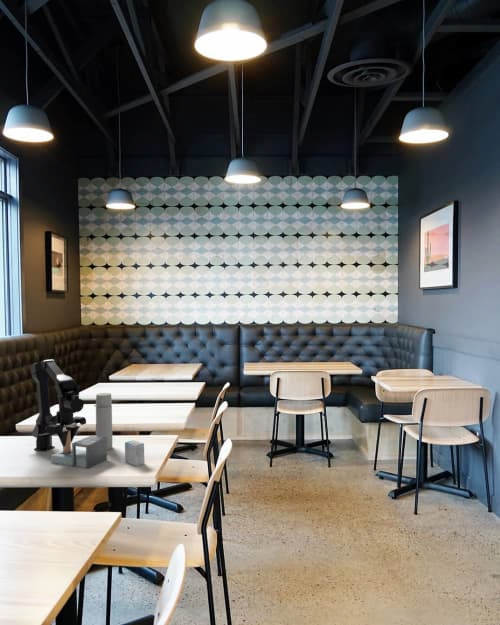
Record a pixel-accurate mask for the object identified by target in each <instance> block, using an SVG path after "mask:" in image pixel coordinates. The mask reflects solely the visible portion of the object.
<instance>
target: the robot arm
mask: <svg viewBox="0 0 500 625" xmlns="http://www.w3.org/2000/svg"><path fill="white" fill-rule="evenodd" d="M30 373H31V376H32V379H33V380H34V381H35V383H36V391H37V402H38V403H37V405H38V415H37V418H36V419H35V425H34V428H33V429H32V436H33V437H34V438H36V440H35V446H36V447H35V448H33V450H34V451H41V452H47V451H49V450H51V449H54V448H56V447H55V445H53V435H57V436H58V438H59V441H60V443H61V446H62V447H63V446H65V445H66V440H67V435H68V431H66V430H71V444H72V443H73V440H74V438H75V436H76V434H77V432H78V430H79V429H80V428H81V426H82V425H83V426H84V425H86V424H87V419H86V417H85V416H74V414H76V413H79V412H81V411H82V410H83V409H84V404H85V403H84V401H83V399H81V398H80V389H79V388H78V385H77V383H76V381H75V379H74V378H72V377H71V376H69V375H66V374H64V372H63V371H62V370H61V368H60V367H59V366H58V365H57V364H56V361H55V359H44V360H42V361H40V362H36V363H35V362H34V363H33V364H32V365H31V366H30ZM50 378H51V379H52V380H53V382H54V388H55V392H56V393H57V398H58V410H57V411H56V414H55V415H53V414H52V413H51V403H50V393H49V381H50ZM78 424H80V425H81V426H80V425H78Z"/></svg>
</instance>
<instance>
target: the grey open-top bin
mask: <svg viewBox="0 0 500 625" xmlns="http://www.w3.org/2000/svg"><path fill="white" fill-rule="evenodd" d="M77 447H80V448H85V451H86V467H85V468H86V469H91V468H93V467H94V466H97V465H99V464H101V463H103V462H105V461H107V460H108V450H107V437H98V436H96V435H89V436H87V437H84V438H81V439H80V440H77V441H74V442H72V443H71V449H72V465H71V466H72V467H77V466H76V450H77Z"/></svg>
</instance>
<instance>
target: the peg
mask: <svg viewBox="0 0 500 625" xmlns="http://www.w3.org/2000/svg"><path fill="white" fill-rule="evenodd" d="M66 431H68V435H67V440H66V445H65V446H62V451H63V453H70V452H71V449H72V443H71V430H66Z"/></svg>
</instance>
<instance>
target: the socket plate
mask: <svg viewBox="0 0 500 625" xmlns="http://www.w3.org/2000/svg"><path fill="white" fill-rule="evenodd" d="M50 462H51V463H53V464H60V465H61V464H62V465H68V466H72V448H71V452H70V453H63V450H60V451H58V452H56V453H52V454H51V455H50ZM75 467H82V468H83V467H84V468H86V450H82V449H76V466H75Z"/></svg>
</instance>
